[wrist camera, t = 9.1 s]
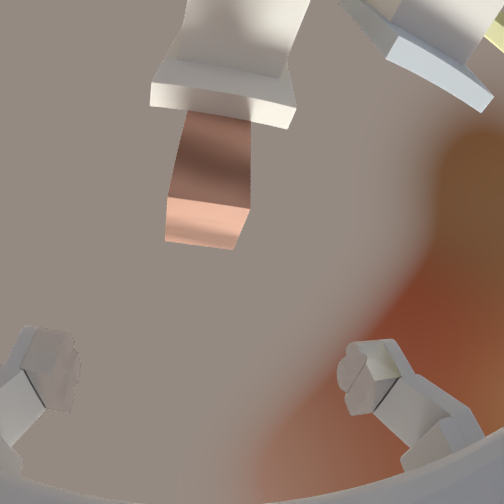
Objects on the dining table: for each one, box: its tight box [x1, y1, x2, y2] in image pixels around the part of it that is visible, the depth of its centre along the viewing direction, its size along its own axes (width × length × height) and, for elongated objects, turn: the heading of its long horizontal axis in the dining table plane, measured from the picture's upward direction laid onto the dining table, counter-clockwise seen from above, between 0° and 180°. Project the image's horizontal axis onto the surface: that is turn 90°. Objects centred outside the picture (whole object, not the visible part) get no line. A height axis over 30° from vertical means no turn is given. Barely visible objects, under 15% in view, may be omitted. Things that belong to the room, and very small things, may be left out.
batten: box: [165, 111, 251, 250], centre depth 25 cm, size 24×4×4 cm, turn 0°
